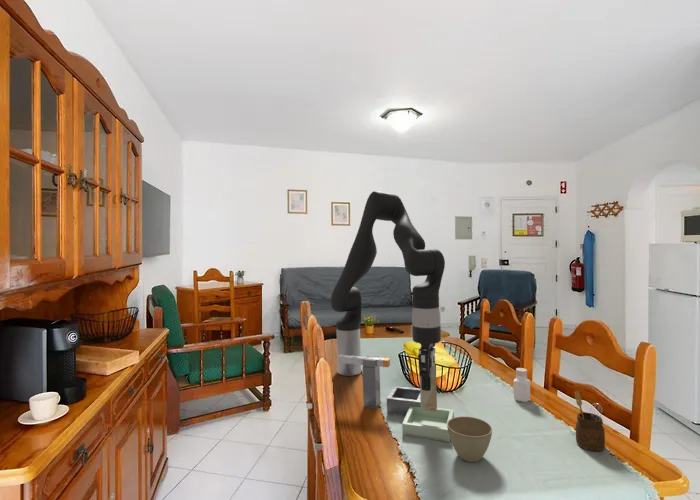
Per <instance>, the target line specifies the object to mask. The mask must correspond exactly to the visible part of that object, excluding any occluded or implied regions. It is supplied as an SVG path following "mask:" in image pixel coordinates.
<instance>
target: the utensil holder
mask: <svg viewBox="0 0 700 500" xmlns="http://www.w3.org/2000/svg"><path fill="white" fill-rule="evenodd" d="M574 396H575V402H576V405H577V406H578V407H579V411H580V412H579V413H577V417H576V419H577V421H576V422H575V441H576V444H577V445H578V446H579V447H580V448H582V449H584V450H587V451H590V452H601V451H602V452H603V451H604V450H605V446H606V433H605V427H604V425H603V424H604V421H603V418H602V415H600V416H599V414H600V412H603V407H602V405H601V404H600V403H597V402H594V403H592V404H591V406H590V407H591V408H590V411H589V412H583V409H582V405H583V401H582V397H581V394H580V391H574ZM593 405H594V406H593ZM596 406H598V407H600V408H598V411H597V413H596V414H595V411H596V410H595V408H596ZM592 407H593V410H592ZM600 409H601V410H600ZM592 411H593V412H592ZM599 411H600V412H599Z"/></svg>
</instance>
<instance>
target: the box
mask: <svg viewBox="0 0 700 500" xmlns="http://www.w3.org/2000/svg"><path fill="white" fill-rule="evenodd" d="M423 371H426V372H427V369H426V368H423ZM430 382H431V389H430V391H425V390H422V376H420V375H419V389H420V400H421V411H432V412H437V408H438V400H437V367H436V364H434V365H433V367H432V368H431V376H430Z"/></svg>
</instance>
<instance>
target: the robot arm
mask: <svg viewBox="0 0 700 500" xmlns="http://www.w3.org/2000/svg"><path fill="white" fill-rule="evenodd" d="M376 220H378V221H386V222H392V223H393V224H394V228H393V233H392V234H393V239H394V242H395V243H396V245H397V247H398V248H399V250H400V251H401V253H402V257H403V261H404V268H405V271H406V272H407V273H408V274H409V275H411V276H414V277H421V276H422V277H423V276H426V278H425V280H424V282H422V283H420V284H417V285H415V286H413V287H412V292H411V293H412V300H411V301H412V310H411V311H412V312H411V323H412V324H411V326H412V328H411V329H412V332H411V333H412V341H413V342H414V343H416V344H420V348H418V355H417V358H418V359H417V360H418V361H417V362H418V371H419V372H418V375H419V377H420V376H422V390H425V391H430V389H431V382H430V376H431V368H432V367H433V365H436V364H435V363H436V344H438V343H440V342H441V341H442V333H441V332H442V328H441V327H442V326H441V325H442V324H441V323H442V322H441V311H440V310H441V309H440V296H439V295H440V288H441V283H442V280H443V276H444V272H445V268H446V266H445V265H446V261H445V257H444V254H443V253H442V252H441V251H440V250H439V249H437V248H436V249H435V248H433V249H432V248H431V249H428V248H427V249H425V248H426V242H425V240H424V238H423V237H422V235H421V234H420V233H419V232H418V230H417V229H416V228H415V226H414V225H413V223H412V221H411V219H410V216H409V214H408V211H407V209H406V207H405V204H404V203H403V200H402V199H401V198H400V197H399V195H397V194H395V193H390V192H384V191H380V190H379V191H378V190H375V191H372V192H371V193H370V194H369V195H368V198H367V200H366V202H365V206H364V210H363V214H362V216H361V220H360V222H359V223H360V224H359V226H358V230H357V233H356V235H355V239H354V241H353V243H352V246H351V248H350V250H349V254H348V256H347V260H346V262H345V265H344V267H343V270H342V272H341V274H340V276H339V279H338V281H337V282H336V284H335V287H334V288H333V290H332V293H331V297H330V306H331V308H332V310H333V311H334V312H337V313H344V312H345V315H344V316H342V317H341V318H340V319H338V320H337V321H336V325H335V326H336V327H335V329H336V330H335V331H336V355H337V356H336V357H337V363H336V365H337V374H339V375H341V376H345V377H346V376H349V377H350V376H351V377H352V376H358V375H359V374H361V373H362V365H357V364H345V363H338V356H339V355H351V356H362V352H361V349H362V348H361V322H362V295H361V291H360V289H359V288H358V287H355V284H356V283H358V282H359V281H360V280H361V279H362V278H363V277H364V276H366V274H367V273H368V272H369V271H370V270H371V268H372V267H373V264H374V261H375V258H376V257H377V254H378V253H377V252H378V250H377V245H376V244H377V243H376V242H375V238H374V234H373V231H374V230H373V228H374V226H375V225H374V224H375V223H376ZM423 368H426V369H427V372H426V371H423Z"/></svg>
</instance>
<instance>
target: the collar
mask: <svg viewBox="0 0 700 500" xmlns="http://www.w3.org/2000/svg"><path fill="white" fill-rule="evenodd" d="M410 406H413V407H421V400H420V388H418V387H417V388H416V387H415V388H414V387H406V386H397V385H396V386H395V385H394V386H393V387H392V389H391V391H390V392H389V394H388V395H387V397H386V414H389V415H395V416H396V415H397V416H403V417H406V415H407V412H408V410H409V408H410Z"/></svg>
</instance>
